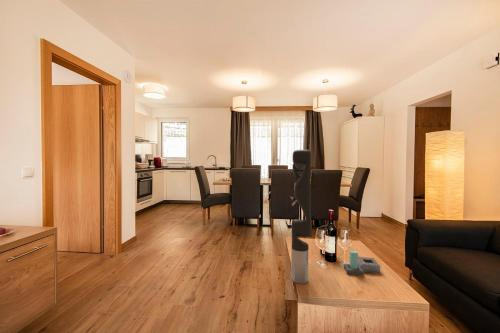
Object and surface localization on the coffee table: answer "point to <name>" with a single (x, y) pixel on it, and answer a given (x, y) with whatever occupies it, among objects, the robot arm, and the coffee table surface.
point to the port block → (369, 265)
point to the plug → (353, 260)
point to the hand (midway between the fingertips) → (299, 211)
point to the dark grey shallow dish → (352, 271)
